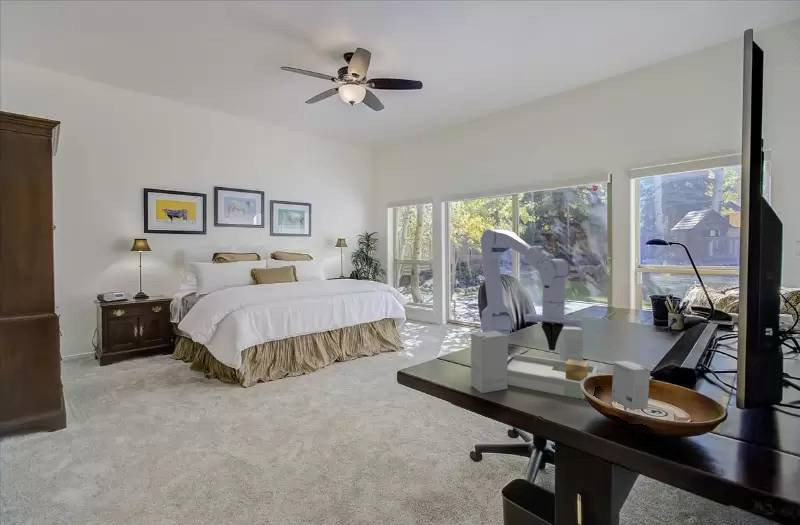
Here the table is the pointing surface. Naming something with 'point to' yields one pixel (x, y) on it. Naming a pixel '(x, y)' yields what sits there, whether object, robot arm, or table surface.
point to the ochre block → (576, 370)
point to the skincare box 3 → (630, 385)
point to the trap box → (544, 375)
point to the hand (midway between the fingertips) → (552, 349)
